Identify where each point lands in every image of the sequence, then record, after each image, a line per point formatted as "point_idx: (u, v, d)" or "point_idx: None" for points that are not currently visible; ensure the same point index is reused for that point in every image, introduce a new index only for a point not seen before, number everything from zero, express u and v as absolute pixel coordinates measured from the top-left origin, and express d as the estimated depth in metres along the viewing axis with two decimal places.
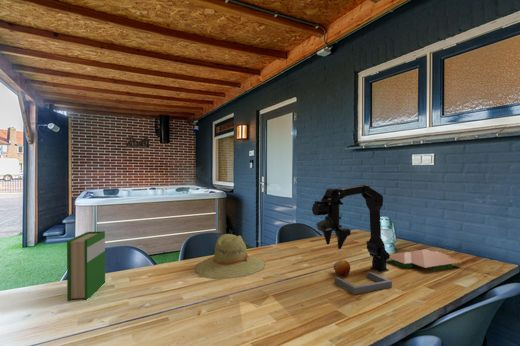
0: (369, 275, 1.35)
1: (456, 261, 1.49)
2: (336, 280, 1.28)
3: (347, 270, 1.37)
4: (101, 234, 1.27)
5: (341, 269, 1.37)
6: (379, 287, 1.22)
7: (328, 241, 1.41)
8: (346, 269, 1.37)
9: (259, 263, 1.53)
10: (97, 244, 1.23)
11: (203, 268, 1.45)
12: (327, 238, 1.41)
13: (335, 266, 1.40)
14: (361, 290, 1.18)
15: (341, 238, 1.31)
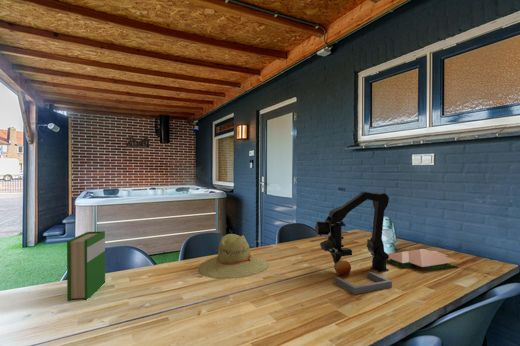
0: (369, 275, 1.35)
1: (453, 260, 1.50)
2: (336, 280, 1.28)
3: (348, 270, 1.37)
4: (101, 234, 1.27)
5: (342, 270, 1.36)
6: (379, 287, 1.22)
7: None
8: (347, 269, 1.37)
9: (262, 263, 1.54)
10: (97, 244, 1.23)
11: (207, 268, 1.45)
12: None
13: (336, 266, 1.39)
14: (361, 290, 1.18)
15: (338, 255, 1.44)
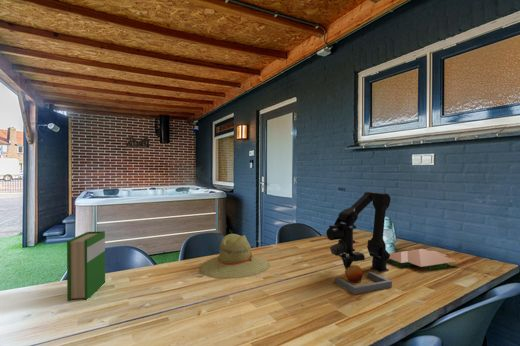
0: (369, 275, 1.35)
1: (452, 260, 1.50)
2: (336, 280, 1.28)
3: (360, 276, 1.29)
4: (101, 234, 1.27)
5: (353, 276, 1.28)
6: (379, 287, 1.22)
7: None
8: (359, 275, 1.29)
9: (264, 263, 1.54)
10: (97, 244, 1.23)
11: (208, 268, 1.45)
12: None
13: (347, 272, 1.31)
14: (361, 290, 1.18)
15: (349, 260, 1.36)
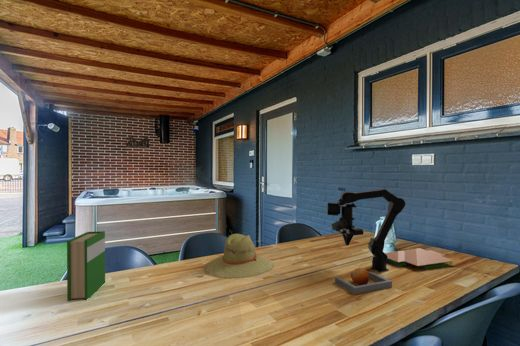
0: (369, 275, 1.35)
1: (449, 260, 1.52)
2: (336, 280, 1.28)
3: (366, 280, 1.25)
4: (101, 234, 1.27)
5: (359, 279, 1.25)
6: (379, 287, 1.22)
7: None
8: (365, 278, 1.25)
9: (268, 262, 1.54)
10: (97, 244, 1.23)
11: (213, 268, 1.45)
12: None
13: (352, 275, 1.28)
14: (361, 290, 1.18)
15: (349, 236, 1.48)
